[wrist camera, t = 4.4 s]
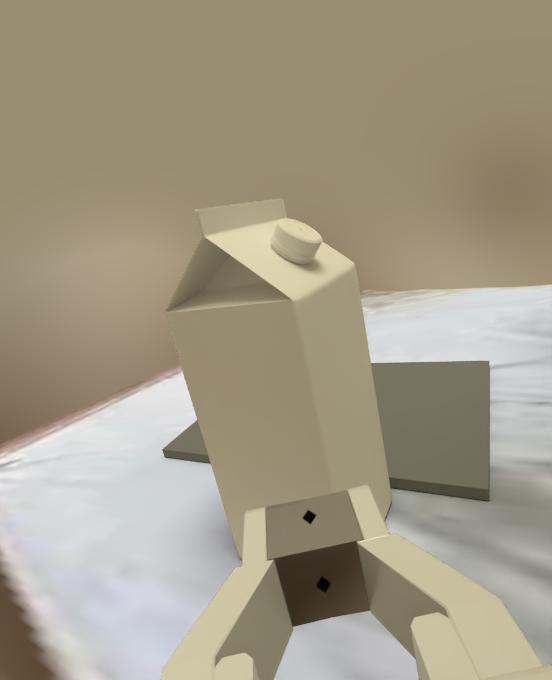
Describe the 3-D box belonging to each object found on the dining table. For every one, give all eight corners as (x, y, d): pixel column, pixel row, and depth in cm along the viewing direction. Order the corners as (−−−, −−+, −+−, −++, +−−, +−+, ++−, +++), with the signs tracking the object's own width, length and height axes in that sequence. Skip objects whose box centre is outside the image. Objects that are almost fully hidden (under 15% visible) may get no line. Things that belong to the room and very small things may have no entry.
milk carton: (238, 560, 23) (136, 226, 17) (294, 482, 28) (230, 212, 23) (356, 600, 19) (271, 188, 14) (393, 500, 25) (343, 182, 19)
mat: (263, 371, 51) (262, 365, 51) (489, 368, 39) (489, 360, 38) (164, 457, 36) (162, 449, 36) (489, 500, 23) (488, 489, 23)
